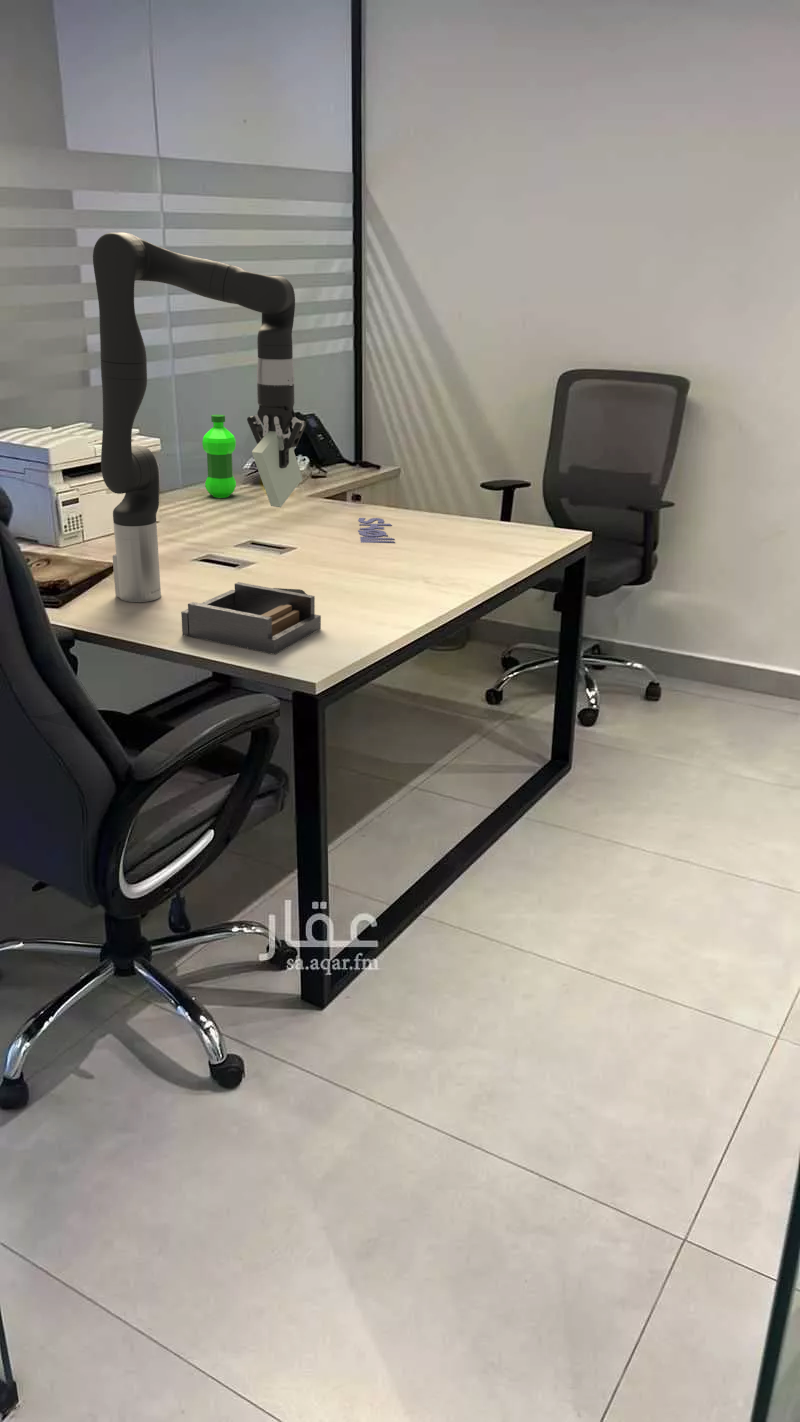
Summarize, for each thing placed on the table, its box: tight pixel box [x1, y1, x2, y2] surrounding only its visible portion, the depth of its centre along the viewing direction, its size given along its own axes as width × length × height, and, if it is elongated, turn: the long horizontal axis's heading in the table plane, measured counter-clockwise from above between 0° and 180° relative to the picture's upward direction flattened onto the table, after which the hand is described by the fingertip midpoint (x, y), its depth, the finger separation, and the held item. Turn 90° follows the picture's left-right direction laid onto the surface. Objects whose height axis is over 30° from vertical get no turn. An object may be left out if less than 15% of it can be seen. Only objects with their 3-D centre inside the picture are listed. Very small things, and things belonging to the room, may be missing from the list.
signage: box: [357, 517, 396, 544], centre depth 305 cm, size 28×1×10 cm
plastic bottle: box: [202, 414, 237, 499], centre depth 335 cm, size 10×10×25 cm
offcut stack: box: [262, 605, 299, 636], centre depth 219 cm, size 4×12×6 cm, turn 154°
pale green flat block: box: [251, 431, 303, 508], centre depth 225 cm, size 2×10×14 cm, turn 153°
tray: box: [180, 581, 322, 656], centre depth 221 cm, size 22×18×7 cm
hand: (277, 466), depth 225 cm, fingers closed on pale green flat block, 2 cm apart
